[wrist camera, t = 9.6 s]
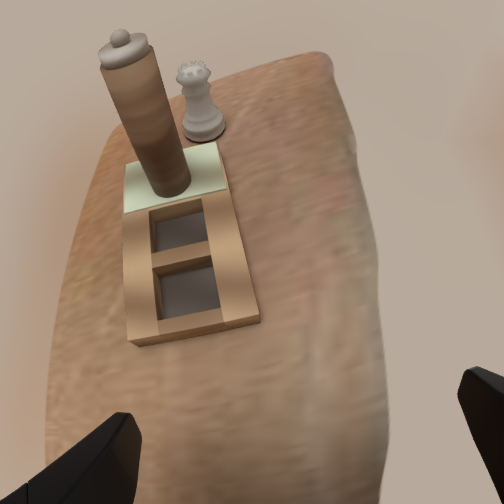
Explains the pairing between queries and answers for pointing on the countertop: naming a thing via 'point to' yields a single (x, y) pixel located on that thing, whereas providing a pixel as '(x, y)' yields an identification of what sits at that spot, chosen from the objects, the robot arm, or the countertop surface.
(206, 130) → the rook chess piece
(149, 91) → the pepper mill
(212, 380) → the countertop surface
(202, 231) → the board
